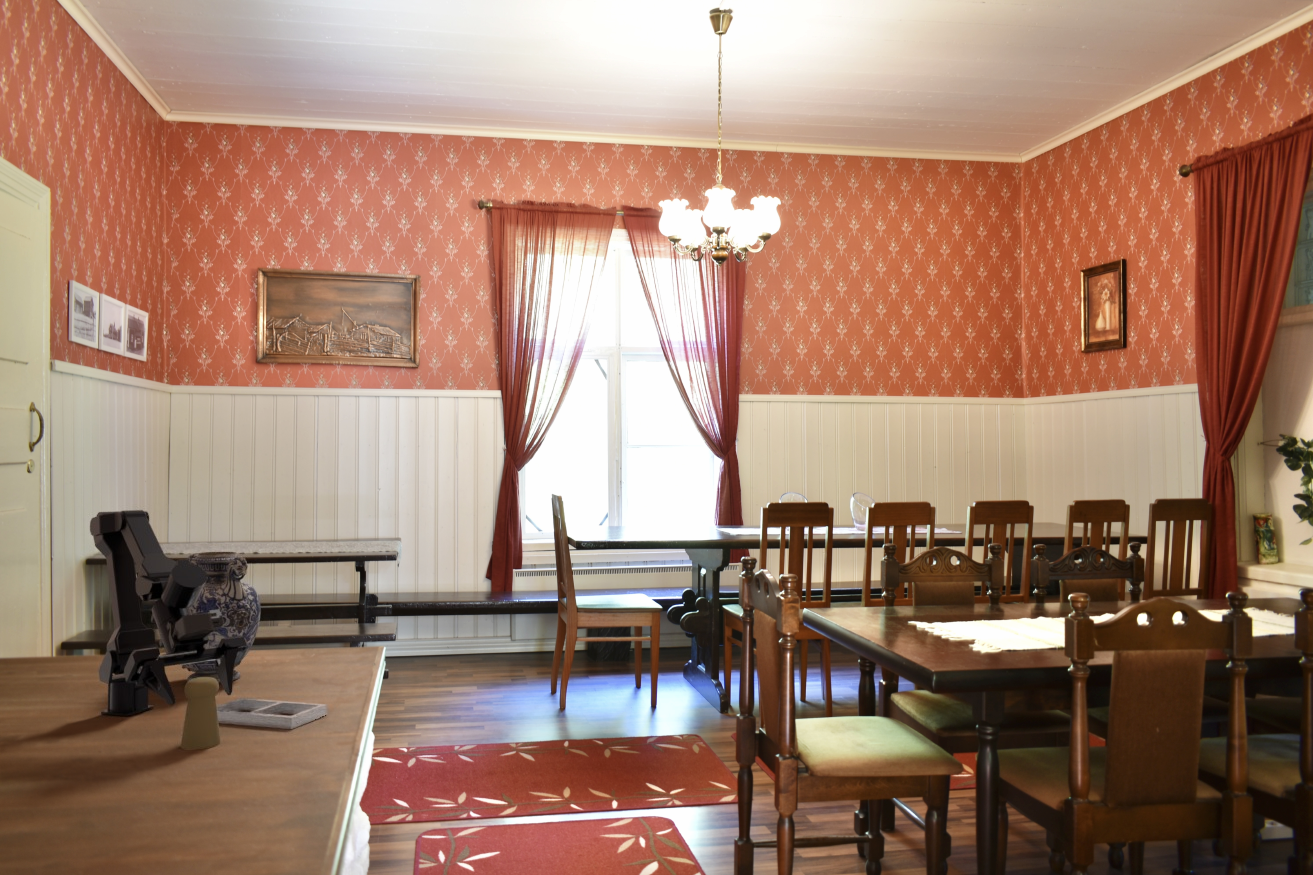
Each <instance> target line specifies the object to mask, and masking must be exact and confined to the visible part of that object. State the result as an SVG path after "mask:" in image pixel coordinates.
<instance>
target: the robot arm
mask: <svg viewBox="0 0 1313 875" xmlns="http://www.w3.org/2000/svg"><path fill="white" fill-rule="evenodd" d="M89 533H90V535H91V536H93V541H94V546H95V547H96V549H97V550H98V551H99V553H101V554H102V556H104V558H105V559H106V567H107V568H106V569H107V575H108V577H107V578H108V586H109V592H110V593H109V594H110V601H111V611H112V618H113V619H112V620H113V625H114V626H113V628H114V631H113V633H112V634H111V636H110V639H109V640H108V642H107V644H106V652H105V655H104V656H103V659H102V661H101V664H100V665H99V667H98V668H99V669H98V678H99V682H102V683H104V684H106V685H107V709H104V710H100V714H101V715H109V716H121V717H129V716H132V715H136V714H138V713H142V712H146V711H148V710H153V709H154V708H155V707H154V705H152V704H151V705H150V704H149V692H150V691H151V692H153V693H155V694H156V695H157V696H158V697H159V698H161V699H162V700H163V701H165V702H166V703H167V704H169V705H170V706H171V707H172V706H174V705H175V704H176V698H175V693H174V690H173V689H172V687H171V683H170V680H169V678H168V676H167V674H166V668H165V667H170V666H171V667H172V666H178V665H179V666H182V665H186V664H192V663H199V662H206V661H212V660H214V664H215V666H216V667H218V668H217V670H216V673H217V675H218V677H219V679H220V682H221V683H220V684H221V686H222V688H223V690H224V692H225V693H226V695H227V696H229V697H230V696H231V694H233V686H234V685H233V684H234V682H233V670H235V668H236V667H237V666H239V665H240V664H241V663H242V661H243V660H244V658H245V657H244V655H245V653H246V651H247V649H248V647H249V645H248V643H247V640H246V639H245V638H244V637H242V636H237V637H230V638H222V639H221V641H220V643H219V645H218V647H217V648H210V649H205V648H204V644H207V643H208V641H209V637H208V635H209V634H210V633H211V632H214V631H215V630H218V629H219V628H221V627H222V626H223V623H224V622H223V617H222V614H221V612H220V610H219V609H218V610H209V613H202V614H193V615H192V613H191V610H190V608H189V607H191V606H193V605H194V604H196V601H197V599H198V597H199V595H200V593H201V591H202V589H203V586H204V584H205V582H206V580H207V574H206V572H205V571H204V570H203V569H202V568H200V567H199V566H197V565H194V564H190V562H189V559H188V558H187V559H177V560H174V559H172V558H170V557H168V556H167V555H166V553H165V552H164V550H163V548H162V546H161V544H160V542H159V540H158V538H157V535H156V534H155V532H154V529H153V528H152V525H151V523H150V515H149V512H148V511H146V510H143V509H139V510H138V509H134V510H133V509H132V510H128V509H127V510H120V511H98V512H97V514H96V515H95V516H94V517H91V519H90V522H89ZM136 567H137V570H138V572H137V571H136ZM137 573H138V574H137ZM140 599H141V600H142V601H143V602H154V601H155V602H154V603H153V606H152V607H151V612H152V614H151V618H150V622H151V623H152V624H153V623H155V624H156V627H157V631H158V633H159V637H160V639H159V642H158V643H159V647H160V648H164V651H165V653H161V652H160V648H159V647H158V645H157V643H156V635H155V634H156V633H155V631H154V629H153V628H148V627H147V626H146V625H145V624H144V623H143V618H142V611H141V602H140ZM243 657H244V658H243Z"/></svg>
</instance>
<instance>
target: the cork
mask: <svg viewBox="0 0 1313 875" xmlns="http://www.w3.org/2000/svg"><path fill="white" fill-rule="evenodd" d="M219 684H220V683H218V681H217V680H216V679H215V678H212V677H199V678H194V679H191V680H189V681H188V682H187V681H186V683H185V686H184V687H183V688H184V692H183V693H184V696H185V697H186V699H187V702H186V703H187V704H186V709H185V716H184V723H183V729H182V736H181V742H180V748H181V749H183V750H186V751H187V750H189V751H193V750H194V751H195V750H197V749H198V750H204V749H205V750H206V749H209V748H210V749H211V748H214V747H216V745H217V746H219V745H221V743H222V742H221V734H220V726H219V725H220V723H218V716H217V708H216V706H217V702H216V696H217V695H218V693H219V690H220V685H219ZM220 742H221V743H220ZM218 744H219V745H218ZM213 746H214V747H213ZM198 750H197V751H198Z"/></svg>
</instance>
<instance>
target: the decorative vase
mask: <svg viewBox="0 0 1313 875" xmlns="http://www.w3.org/2000/svg"><path fill="white" fill-rule="evenodd" d="M187 559H189V562H190V564H194V565H197V566H199V567H200V568H202V569H203V570H204V571H205V572H206V574H207V580H206V582H205V584H204V586H203V589H202V591H201V593H200V595H199V597H198V599H197V601H196V604H194V605H193V606H191V607H189V608H190V610H191V613H192V615H193V614H202V613H209V610H218V609H219V610H220V612H221V614H222V617H223V622H224V623H223V626H222V627H221V628H219V629H218V630H215V631H214V632H211V633H210V634H209V635H208V637H209V641H208V643H207V644H204V648H205V649H210V648H217V647H218V645H219V643H220V641H221V639H222V638H230V637H237V636H242V637H244V638H245V639H246V640H247V643H248V645H249V647H248V649H247V651H246V653H245V655H244V657H243V659H245V657H247V655H248V653H249V652H250V650H251V648H252V646H253V643H254V642H255V638H256V636H257V634H258V630H259V627H260V620H261V615H262V614H261V612H262V611H261V600H260V597H259V594H258V592H257V590H256V589H255V588H254V587H253V586H252V585H251V584H249V583H246V582H243V581H241V580H242V579H244V578H245V575H247V573H248V567H249V566H248V563H247V560H246V558H245V557H243V556H242V555H238V554H237V552H235V551H207V552H206V551H205V552H204V551H203V552H199V553H192V554H190V555H188V558H187ZM181 668H182V669H186V670H187V671H188V672H193V673H191V674H190V675H188V676H187V679H186V683H187V682H188V681H189V680H191V679H194V678H199V677H212V678H215V679H216V680H217V681H218V684H221V682H220V679H219V677H218V675H217V673H216V670H217V668H218V667H216V666H215V664H214V660H212V661H206V662H199V663H192V664H186V665H181ZM240 678H241V673H240V672H239V671H238V670H236V669H234V670H233V681H236V680H238V679H240Z"/></svg>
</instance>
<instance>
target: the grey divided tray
mask: <svg viewBox="0 0 1313 875" xmlns="http://www.w3.org/2000/svg"><path fill="white" fill-rule="evenodd" d="M216 708H217V716H218V724H228V725H238V726H248V727H249V726H250V727H262V728H273V729H283V730H286V729H287V730H293V729H296V728H298V727H302V726H303V725H306V724H308V723H310V722H313V721H315V719H316V720H318V719H320V717H321V718H323V717H322V716H324V717H326V716H328V704H327V703H325V704H324V703H315V702H313V703H312V702H299V701H288V700H287V701H286V700H273V699H263V698H262V699H261V698H248V697H247V698H246V697H241V698H238V699H235V700H231V701H228V702H226V703H223V704H220V705H216ZM244 711H246V712H244ZM247 711H249V712H247ZM283 714H285V715H283ZM286 714H288V715H286ZM325 715H326V716H325Z"/></svg>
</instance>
